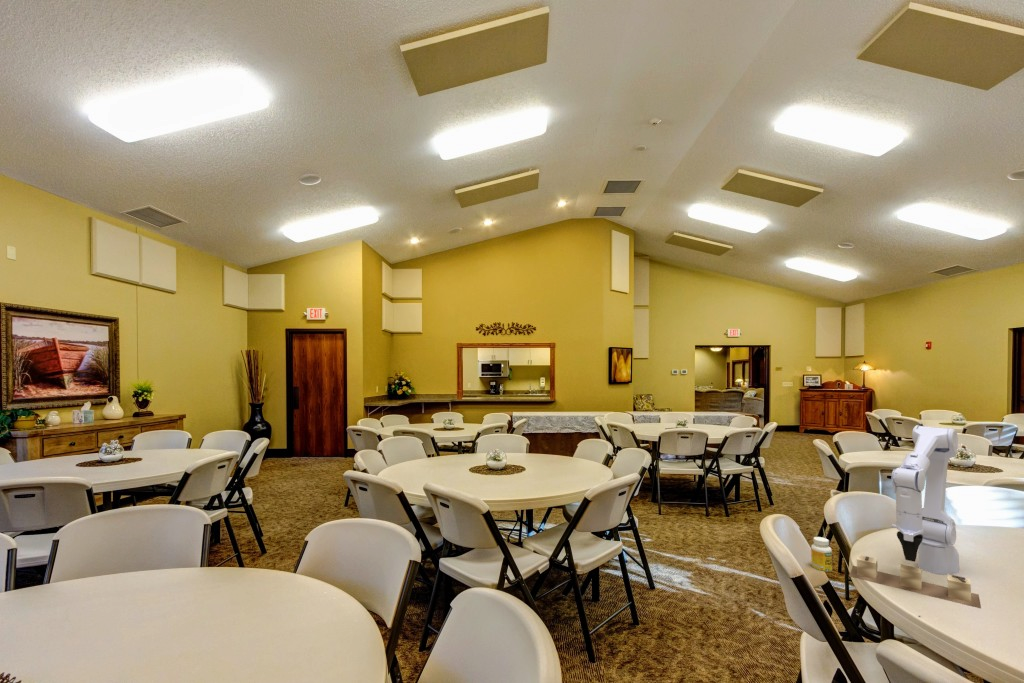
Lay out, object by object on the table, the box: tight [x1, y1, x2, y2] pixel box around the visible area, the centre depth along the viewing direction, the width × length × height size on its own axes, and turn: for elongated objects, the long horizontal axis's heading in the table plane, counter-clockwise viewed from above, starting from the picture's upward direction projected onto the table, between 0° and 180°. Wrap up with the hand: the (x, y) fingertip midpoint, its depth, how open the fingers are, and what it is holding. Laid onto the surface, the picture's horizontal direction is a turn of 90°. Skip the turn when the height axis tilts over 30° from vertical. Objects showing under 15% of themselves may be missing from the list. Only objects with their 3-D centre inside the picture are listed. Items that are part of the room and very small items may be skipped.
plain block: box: [899, 563, 923, 590], centre depth 137 cm, size 4×4×4 cm
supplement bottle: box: [810, 536, 833, 572], centre depth 148 cm, size 5×5×10 cm
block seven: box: [946, 574, 972, 602], centre depth 130 cm, size 4×4×5 cm
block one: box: [856, 554, 878, 579], centre depth 143 cm, size 4×4×5 cm
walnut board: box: [848, 565, 982, 609], centre depth 137 cm, size 28×10×1 cm, turn 49°
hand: (910, 560), depth 137 cm, fingers closed
